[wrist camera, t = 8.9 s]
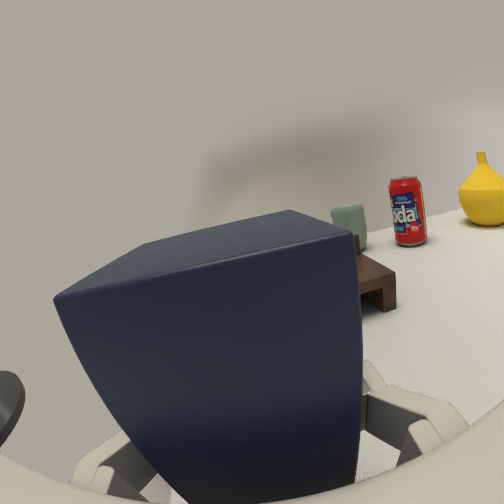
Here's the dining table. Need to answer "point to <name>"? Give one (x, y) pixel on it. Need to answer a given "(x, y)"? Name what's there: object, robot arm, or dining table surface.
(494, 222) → the vase
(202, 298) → the navy block
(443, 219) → the dining table surface
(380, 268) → the wooden divided tray
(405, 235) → the soda can
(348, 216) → the cup
